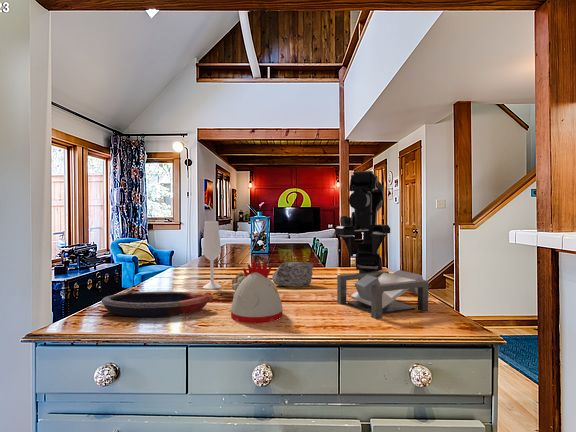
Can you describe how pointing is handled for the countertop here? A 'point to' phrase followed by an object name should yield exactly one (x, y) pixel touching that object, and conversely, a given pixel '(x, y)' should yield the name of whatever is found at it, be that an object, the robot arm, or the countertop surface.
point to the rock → (293, 274)
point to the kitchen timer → (256, 297)
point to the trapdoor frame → (377, 291)
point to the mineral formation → (237, 281)
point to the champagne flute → (211, 249)
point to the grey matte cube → (366, 286)
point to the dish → (155, 303)
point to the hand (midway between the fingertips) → (362, 255)
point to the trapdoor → (392, 295)
